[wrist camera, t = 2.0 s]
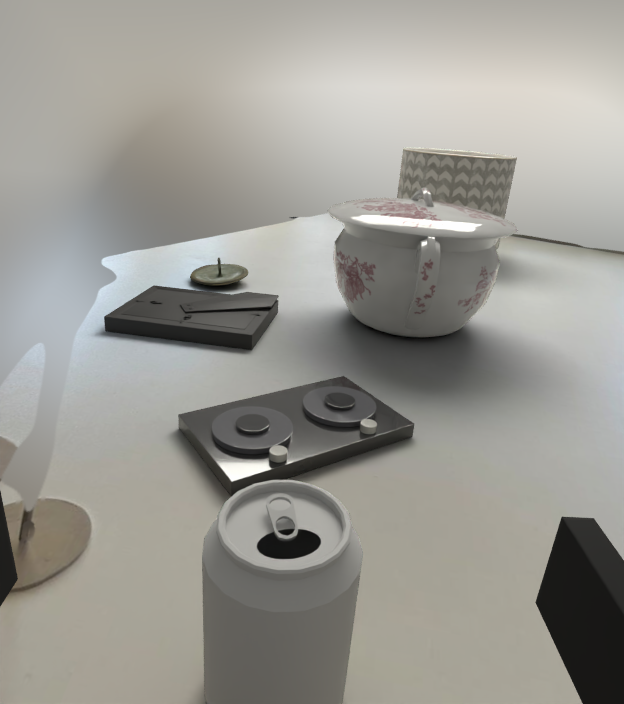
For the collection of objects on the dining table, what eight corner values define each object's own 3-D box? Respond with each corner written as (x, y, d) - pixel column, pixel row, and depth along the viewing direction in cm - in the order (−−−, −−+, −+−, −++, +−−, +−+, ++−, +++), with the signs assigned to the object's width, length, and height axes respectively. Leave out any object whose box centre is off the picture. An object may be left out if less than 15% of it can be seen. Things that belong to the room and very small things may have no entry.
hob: (178, 427, 53) (177, 405, 52) (342, 387, 64) (344, 368, 63) (231, 497, 44) (231, 471, 43) (412, 436, 55) (416, 415, 54)
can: (211, 785, 25) (209, 595, 20) (199, 644, 32) (195, 475, 27) (362, 747, 27) (393, 565, 22) (321, 622, 34) (338, 461, 29)
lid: (256, 289, 102) (259, 262, 101) (229, 288, 93) (232, 259, 92) (208, 282, 106) (211, 256, 105) (177, 280, 96) (180, 252, 96)
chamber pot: (388, 287, 104) (403, 174, 96) (525, 329, 87) (557, 196, 78) (280, 315, 85) (287, 178, 77) (427, 377, 68) (456, 208, 60)
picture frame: (277, 312, 86) (154, 297, 89) (278, 295, 85) (153, 281, 88) (251, 349, 72) (105, 330, 74) (252, 329, 71) (103, 311, 73)
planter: (505, 256, 136) (526, 156, 127) (480, 276, 116) (503, 159, 107) (411, 240, 147) (424, 147, 138) (373, 256, 127) (386, 147, 118)
